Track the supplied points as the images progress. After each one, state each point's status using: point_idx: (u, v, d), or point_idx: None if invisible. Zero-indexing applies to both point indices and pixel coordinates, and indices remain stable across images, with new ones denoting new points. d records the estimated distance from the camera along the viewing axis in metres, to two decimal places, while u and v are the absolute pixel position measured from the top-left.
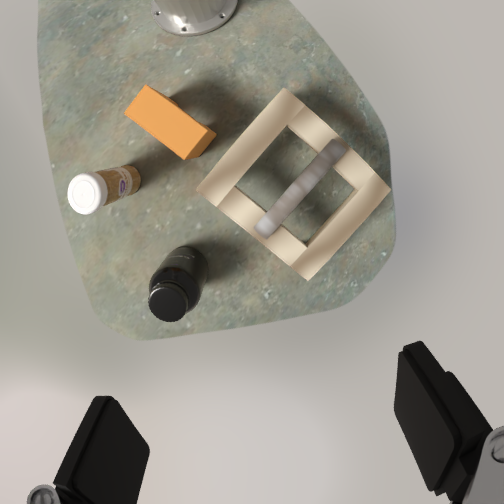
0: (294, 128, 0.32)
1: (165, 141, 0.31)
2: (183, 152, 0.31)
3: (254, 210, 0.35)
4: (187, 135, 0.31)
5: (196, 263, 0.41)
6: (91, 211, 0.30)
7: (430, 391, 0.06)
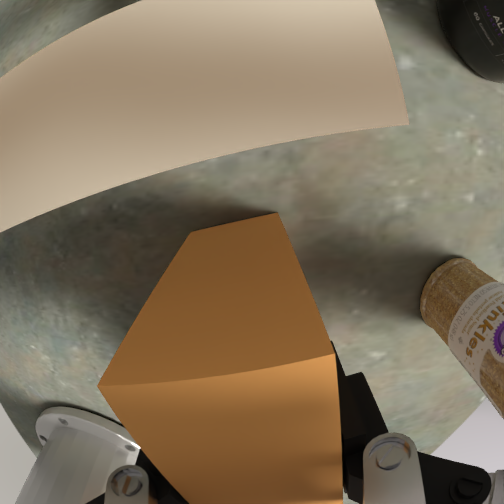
0: None
1: (326, 457, 0.05)
2: (302, 387, 0.05)
3: None
4: (215, 432, 0.05)
5: None
6: None
7: None
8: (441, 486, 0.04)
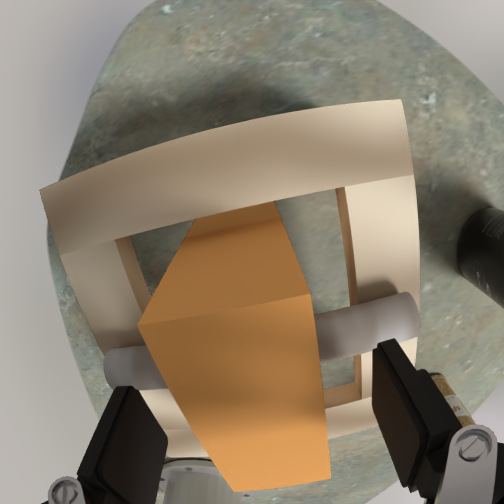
0: None
1: (310, 388, 0.08)
2: (287, 319, 0.07)
3: None
4: (225, 360, 0.07)
5: (488, 269, 0.17)
6: None
7: (399, 387, 0.07)
8: None
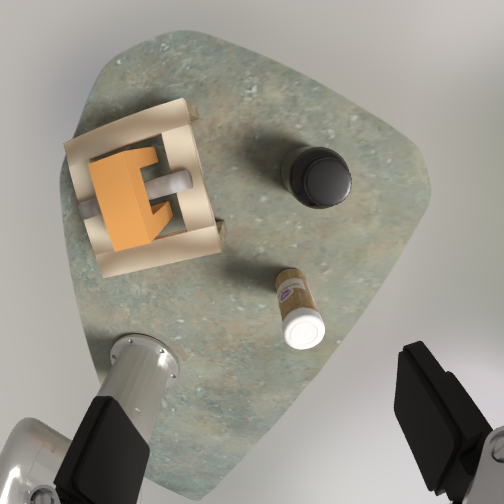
0: None
1: (128, 182, 0.26)
2: (119, 158, 0.25)
3: (184, 199, 0.32)
4: (106, 172, 0.26)
5: (284, 177, 0.36)
6: (310, 317, 0.32)
7: (430, 391, 0.06)
8: None
